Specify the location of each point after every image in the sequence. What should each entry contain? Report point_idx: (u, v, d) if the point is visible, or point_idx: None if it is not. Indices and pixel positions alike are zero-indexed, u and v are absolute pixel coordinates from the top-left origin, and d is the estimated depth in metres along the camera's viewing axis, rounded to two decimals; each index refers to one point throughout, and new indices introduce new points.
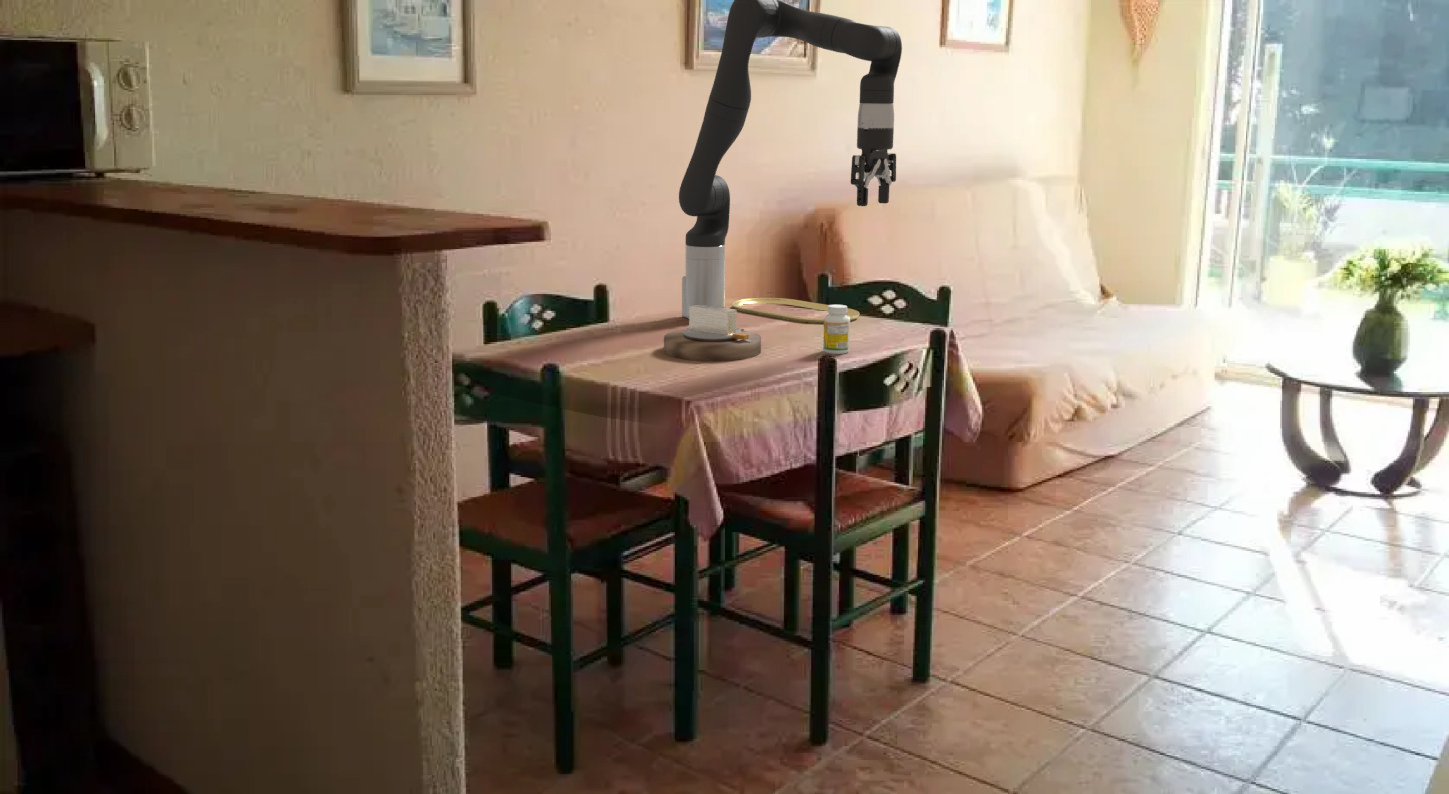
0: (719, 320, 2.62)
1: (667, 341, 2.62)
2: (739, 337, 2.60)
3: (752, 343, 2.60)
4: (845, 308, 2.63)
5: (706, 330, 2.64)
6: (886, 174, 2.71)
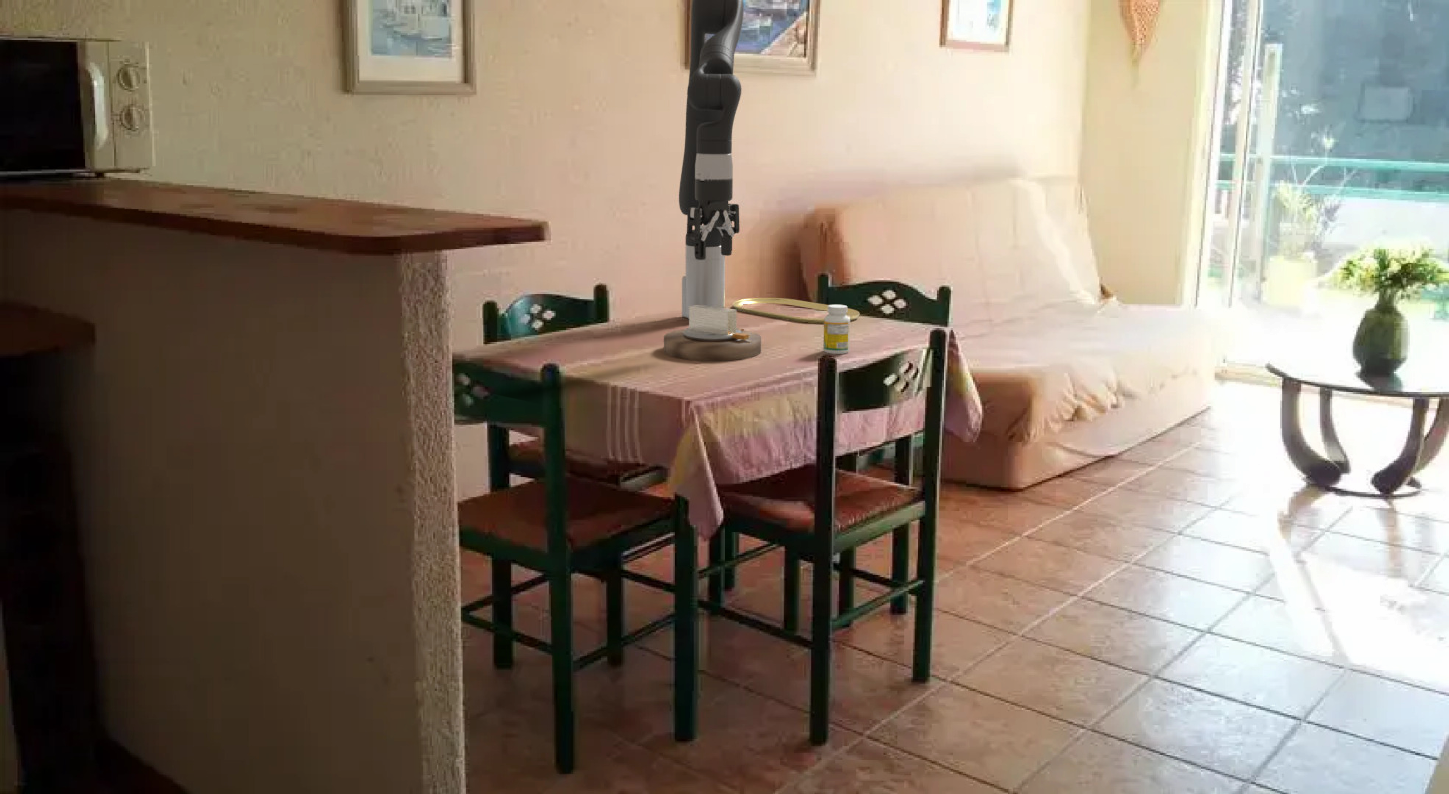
0: (719, 320, 2.62)
1: (667, 341, 2.62)
2: (739, 337, 2.60)
3: (752, 343, 2.60)
4: (845, 308, 2.63)
5: (706, 330, 2.64)
6: (727, 226, 2.61)
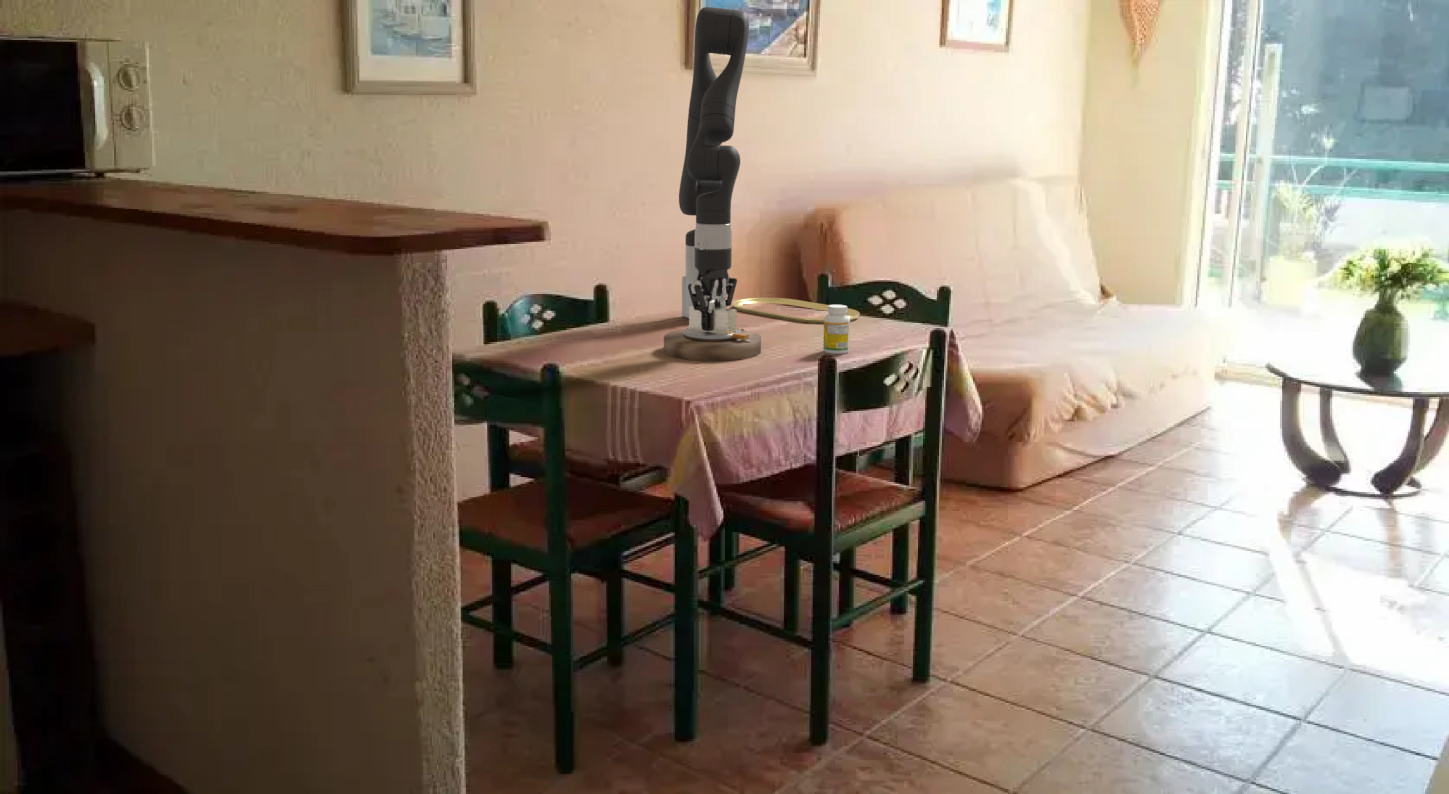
0: (719, 320, 2.62)
1: (667, 341, 2.62)
2: (739, 337, 2.60)
3: (752, 343, 2.60)
4: (845, 308, 2.63)
5: None
6: (722, 296, 2.63)
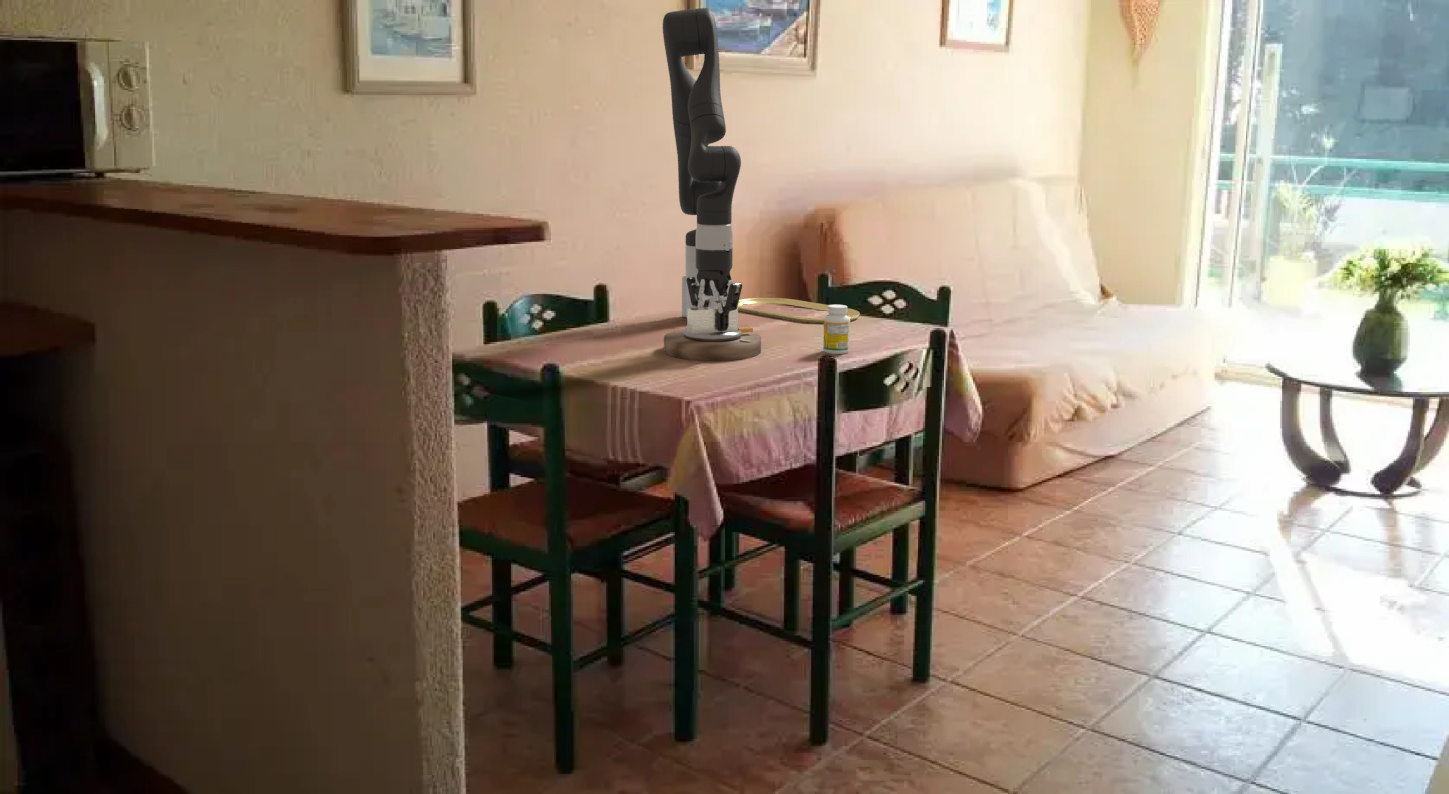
0: None
1: (667, 341, 2.62)
2: (747, 330, 2.67)
3: (752, 343, 2.60)
4: (845, 308, 2.63)
5: (713, 331, 2.64)
6: None
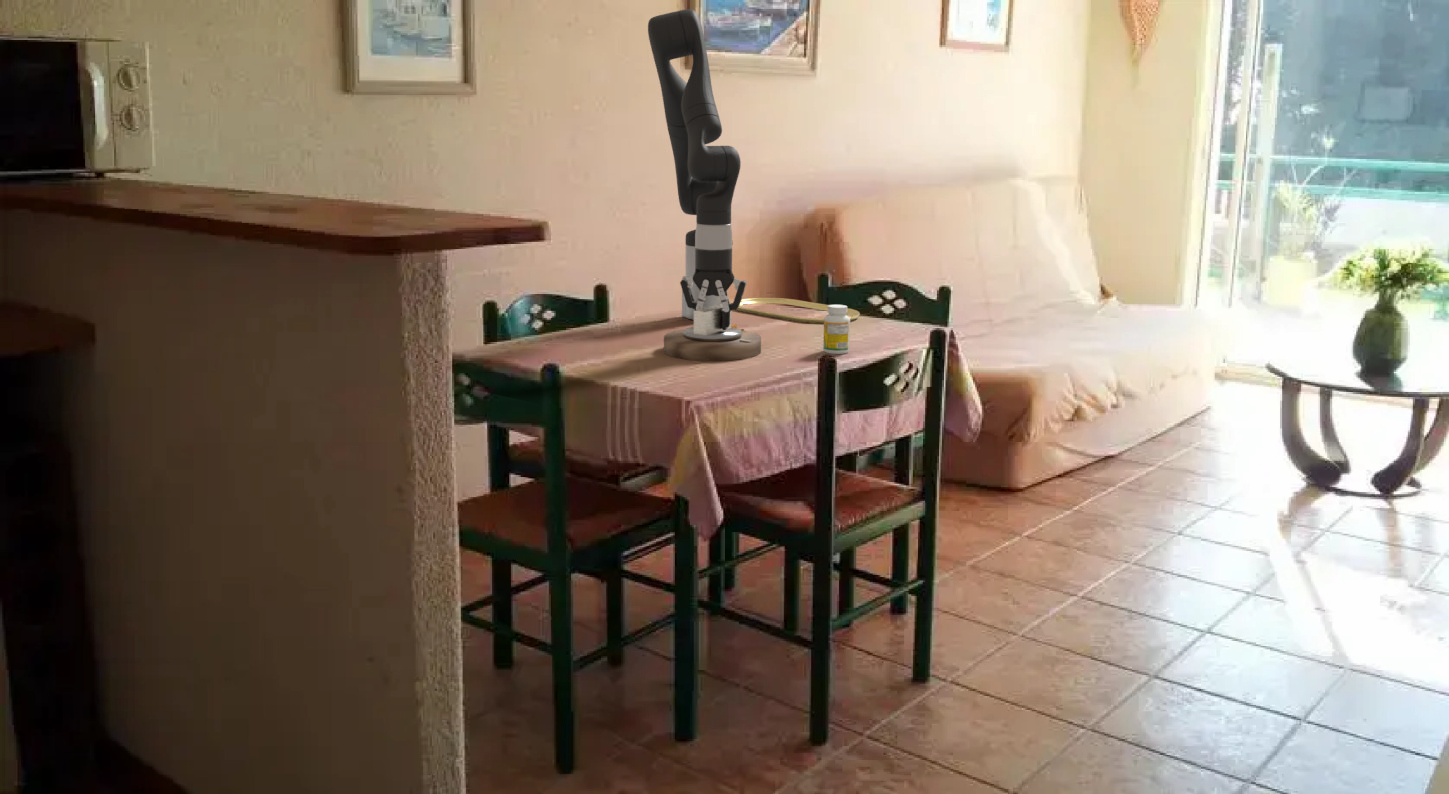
0: None
1: (667, 341, 2.62)
2: (734, 327, 2.71)
3: (752, 343, 2.60)
4: (845, 308, 2.63)
5: (717, 330, 2.64)
6: None
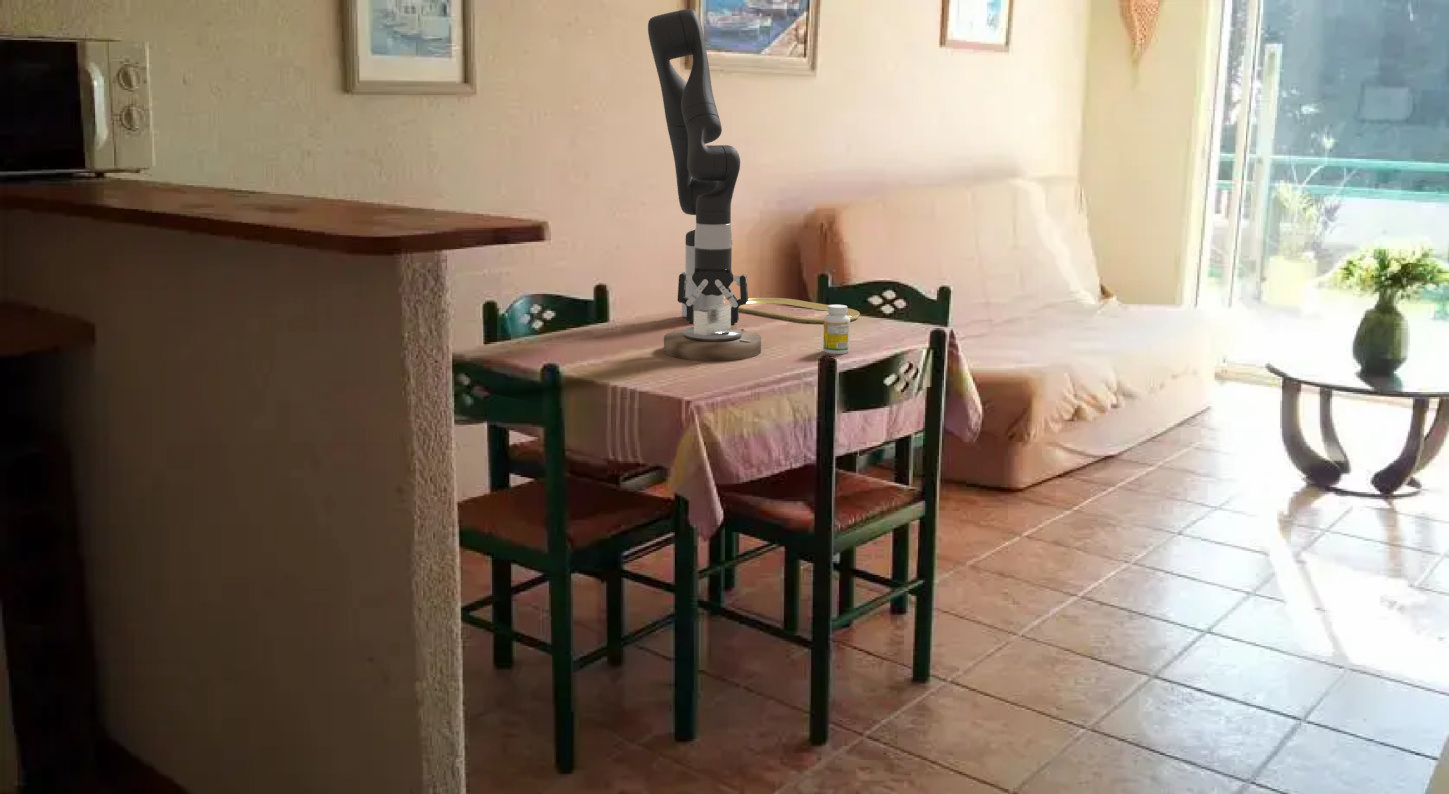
0: (726, 316, 2.66)
1: (667, 341, 2.62)
2: (733, 327, 2.71)
3: (752, 343, 2.60)
4: (845, 308, 2.63)
5: (717, 330, 2.64)
6: (701, 292, 2.65)
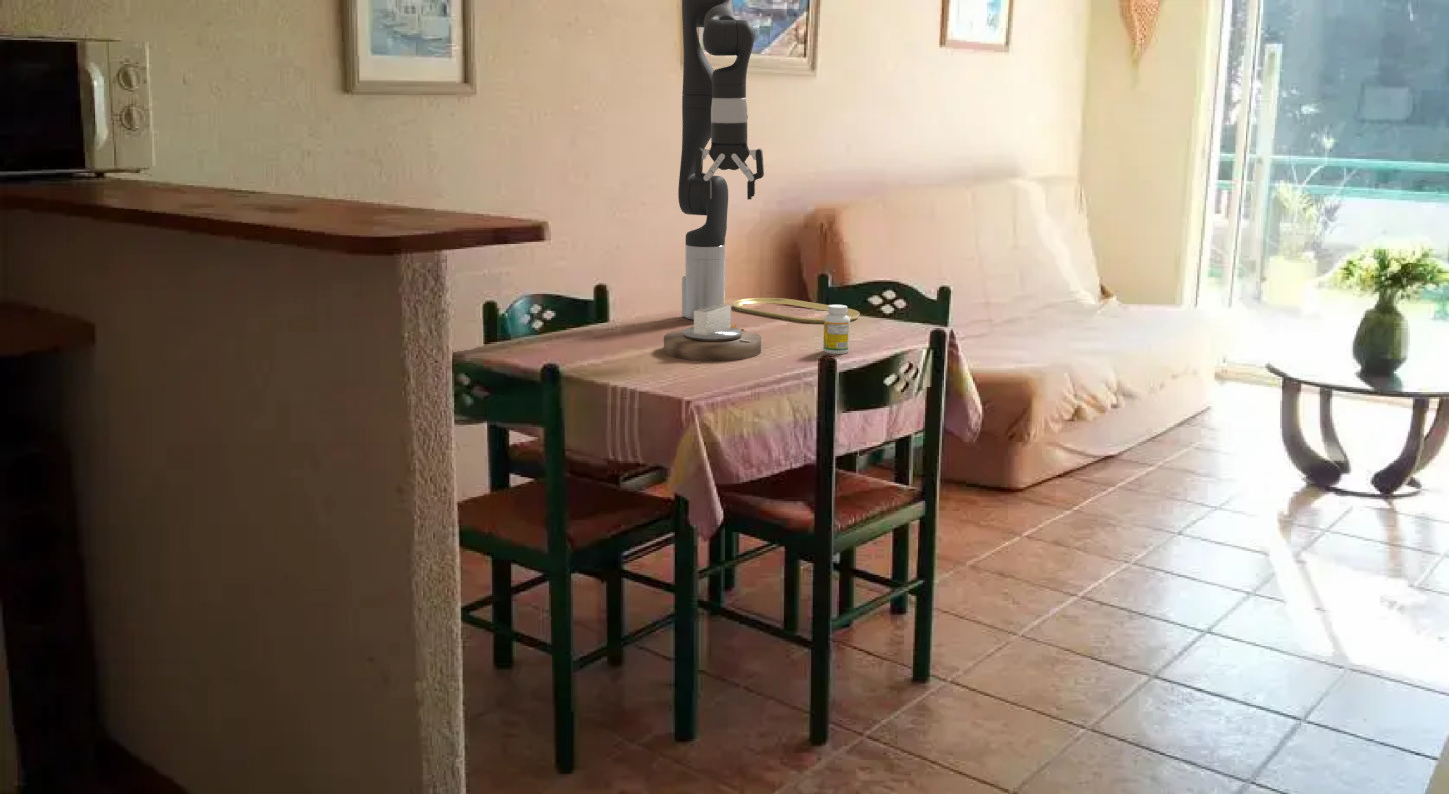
0: (726, 316, 2.66)
1: (667, 341, 2.62)
2: (733, 327, 2.71)
3: (752, 343, 2.60)
4: (845, 308, 2.63)
5: (717, 330, 2.64)
6: (717, 168, 2.71)
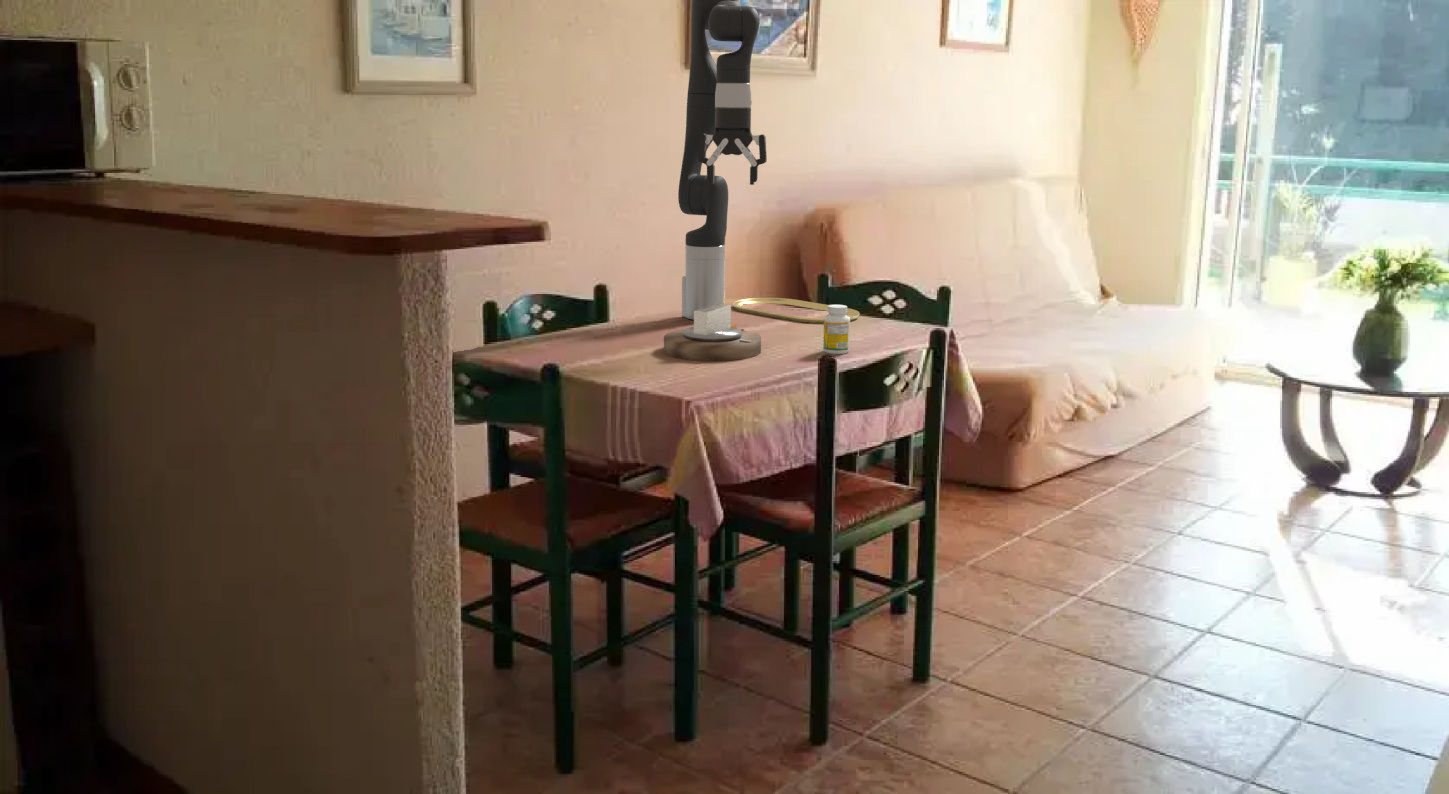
0: (726, 316, 2.66)
1: (667, 341, 2.62)
2: (733, 327, 2.71)
3: (752, 343, 2.60)
4: (845, 308, 2.63)
5: (717, 330, 2.64)
6: (721, 153, 2.73)
